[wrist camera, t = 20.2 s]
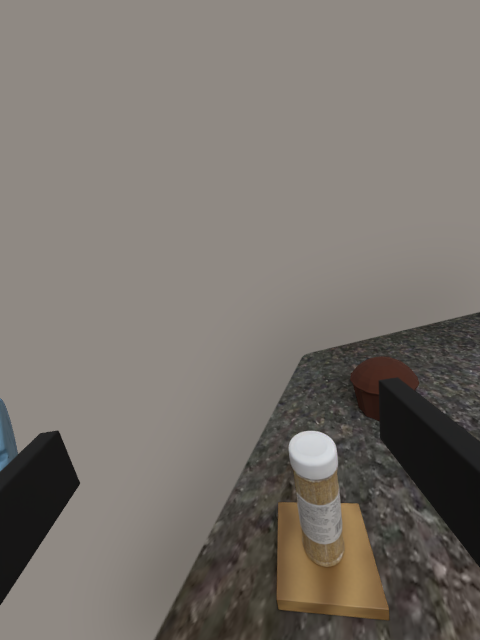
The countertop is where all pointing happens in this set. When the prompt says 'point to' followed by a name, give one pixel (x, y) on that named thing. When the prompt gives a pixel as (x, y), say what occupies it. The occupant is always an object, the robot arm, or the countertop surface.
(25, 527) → the robot arm
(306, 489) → the sprinkles bottle
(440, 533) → the countertop surface
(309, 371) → the countertop surface
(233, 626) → the countertop surface
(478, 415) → the countertop surface
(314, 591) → the cutting board
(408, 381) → the muffin
